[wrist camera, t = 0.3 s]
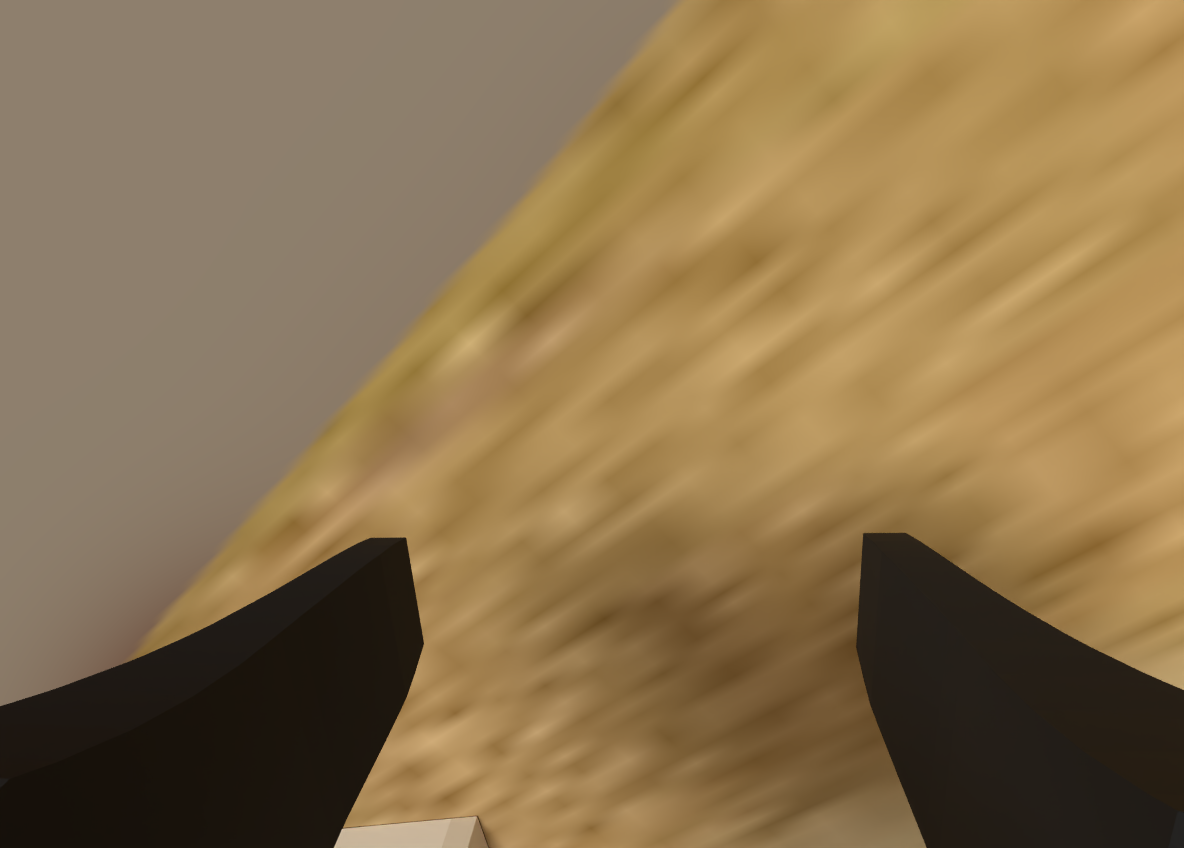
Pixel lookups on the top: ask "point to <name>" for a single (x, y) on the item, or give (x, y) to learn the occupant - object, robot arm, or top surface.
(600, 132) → the top surface
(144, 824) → the robot arm
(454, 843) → the lane
